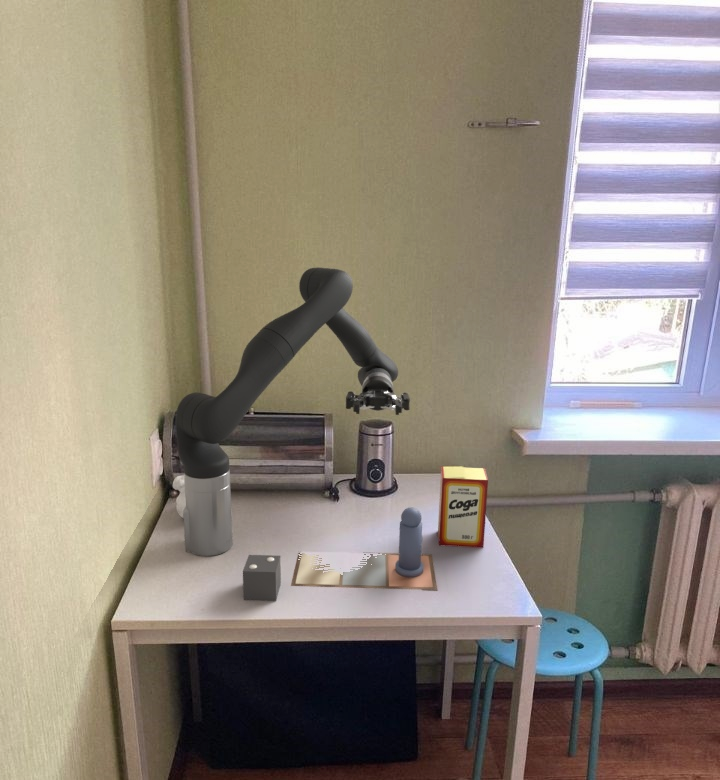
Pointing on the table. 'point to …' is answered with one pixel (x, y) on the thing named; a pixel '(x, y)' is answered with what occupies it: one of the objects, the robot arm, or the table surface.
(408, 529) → the pawn
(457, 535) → the baking soda box
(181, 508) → the duck figurine
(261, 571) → the die
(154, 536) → the table surface
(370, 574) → the game board
